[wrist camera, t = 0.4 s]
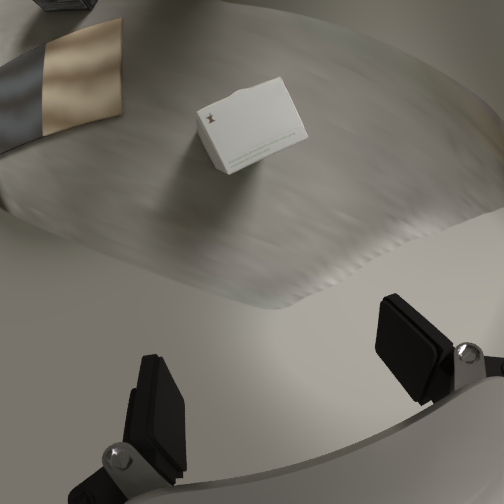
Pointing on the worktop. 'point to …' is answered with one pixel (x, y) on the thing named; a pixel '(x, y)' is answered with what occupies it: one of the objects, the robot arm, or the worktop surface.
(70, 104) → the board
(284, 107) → the skincare box
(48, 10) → the small box
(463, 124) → the worktop surface
